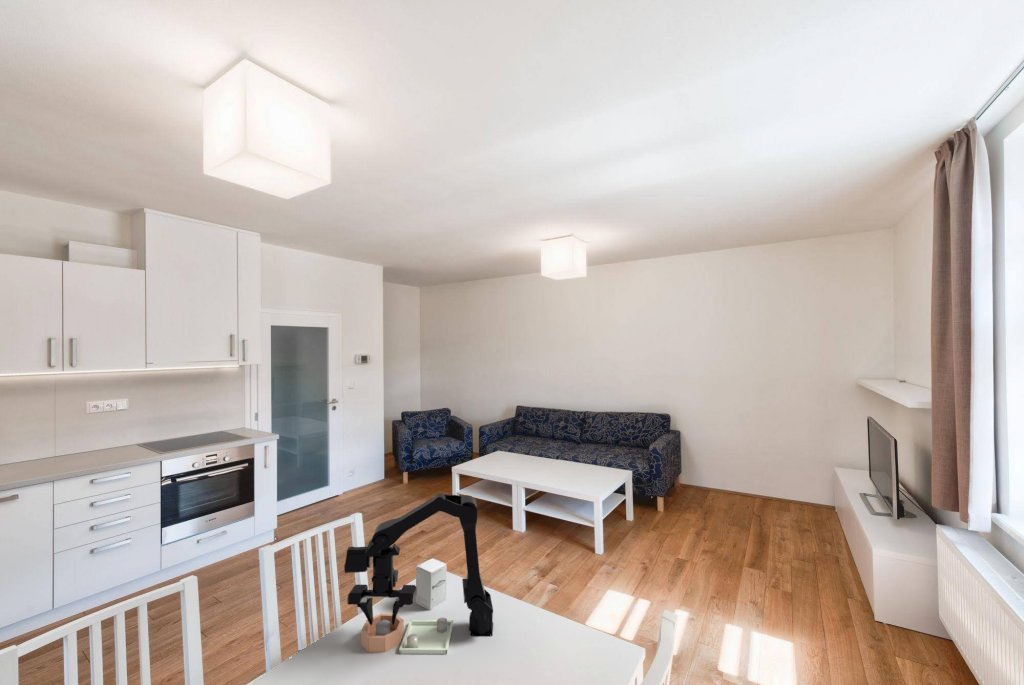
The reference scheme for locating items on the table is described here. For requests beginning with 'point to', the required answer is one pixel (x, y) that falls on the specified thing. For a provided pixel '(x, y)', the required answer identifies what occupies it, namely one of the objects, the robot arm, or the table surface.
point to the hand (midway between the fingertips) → (382, 623)
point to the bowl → (382, 642)
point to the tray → (427, 637)
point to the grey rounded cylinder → (382, 628)
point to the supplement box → (431, 583)
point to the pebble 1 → (412, 641)
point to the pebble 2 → (441, 625)
